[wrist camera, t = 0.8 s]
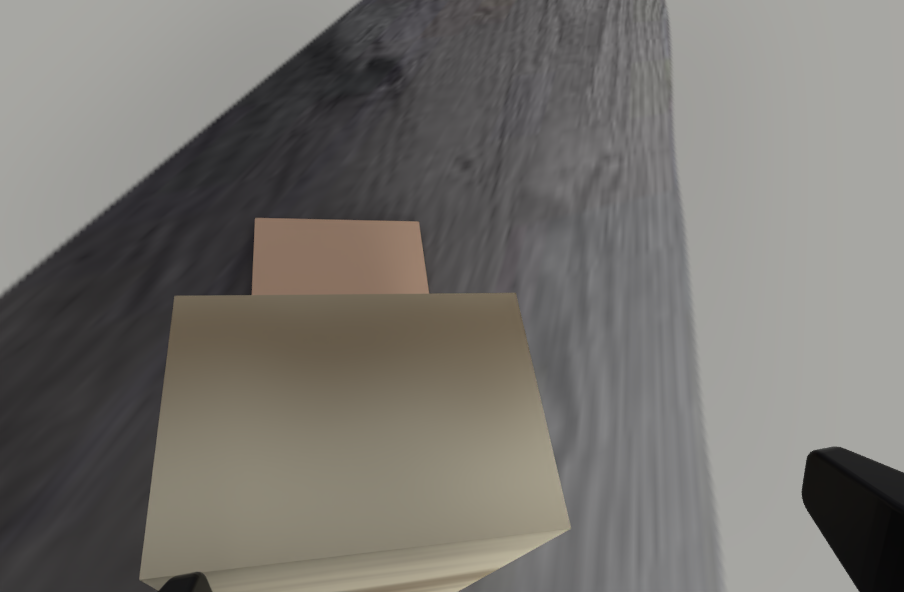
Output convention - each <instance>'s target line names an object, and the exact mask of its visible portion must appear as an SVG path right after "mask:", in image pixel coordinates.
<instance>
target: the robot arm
mask: <svg viewBox="0 0 904 592" xmlns="http://www.w3.org/2000/svg"><path fill="white" fill-rule="evenodd" d="M802 499H803V502H804V505H805V507H806V509H807V511H808V512H809V514H810V516H811V517H812V519H813V520H814V522H815V523H816V525H817V526H818V528H819V529H820V531H821V533H822V534H823V536H824V537H825V539H826V541H827V542H828V544H829V545H830V547H831V548H832V550H833V551H834V553H835V555H836V556H837V558H838V559H839V561H840V562H841V564H842V566H843V567H844V569H845V570H846V572H847V573H848V575H849V576H850V578H851V579H852V581H853V583H854V584H855V586H856V587H857V589H858V590H859V592H904V473H903V472H901V471H898V470H896V469H893V468H891V467H888V466H886V465H884V464H881V463H878V462H876V461H874V460H871V459H869V458H866V457H864V456H861V455H859V454H857V453H854V452H852V451H849V450H847V449H844V448H841V447H829V448H824V449H819V450H814V451H812V452H810V454H809V455H808V456H807V460H806V466H805V473H804V479H803V486H802ZM158 592H212V589H211V587H210V585H209V582H208V580H207V578H206V576H205V575H204V574H203V573H202V572H192V573H187V574H182V575H177V576H174V577H172V578H170V579H169V580H168V581H167V582H166V583H165V584H164V585H163V586H162V587H161V589H160V590H159V591H158Z"/></svg>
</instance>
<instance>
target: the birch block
mask: <svg viewBox="0 0 904 592" xmlns="http://www.w3.org/2000/svg"><path fill="white" fill-rule="evenodd" d="M569 529H571V526H570V522H569V517H568V513H567V509H566V505H565V500H564V496H563V492H562V488H561V483H560V479H559V475H558V471H557V466H556V462H555V458H554V454H553V449H552V445H551V441H550V437H549V432H548V428H547V424H546V420H545V415H544V411H543V407H542V403H541V398H540V394H539V390H538V386H537V381H536V377H535V373H534V369H533V364H532V360H531V356H530V351H529V347H528V343H527V339H526V334H525V330H524V326H523V322H522V317H521V313H520V309H519V305H518V300H517V296H516V293H448V294H329V295H210V296H175V297H174V305H173V313H172V321H171V329H170V337H169V345H168V353H167V361H166V369H165V377H164V385H163V393H162V401H161V409H160V417H159V425H158V433H157V441H156V449H155V457H154V465H153V473H152V481H151V489H150V497H149V505H148V513H147V521H146V529H145V537H144V545H143V553H142V561H141V569H140V577H139V580H140V581H142V582H144V583H146V584H147V585H149V586H151V587H153V588H154V589H156V590H158V591H159V590H160V589H161V587H162V586H163V585H164V584H165V583H166V582H167V581H168V580H169V579H170V578H172V577H174V576H177V575H182V574H187V573H192V572H202V573H203V574H204V575H205V576H206V578H207V580H208V582H209V585H210V587H211V589H212V592H458V591H460V590H461V589H463V588H465V587H467V586H469V585H470V584H472V583H474V582H476V581H477V580H479V579H481V578H483V577H485V576H486V575H488V574H490V573H492V572H494V571H495V570H497V569H499V568H501V567H503V566H504V565H506V564H508V563H510V562H512V561H513V560H515V559H517V558H519V557H521V556H522V555H524V554H526V553H528V552H530V551H531V550H533V549H535V548H537V547H539V546H540V545H542V544H544V543H546V542H548V541H549V540H551V539H553V538H555V537H557V536H558V535H560V534H562V533H564V532H566V531H567V530H569Z"/></svg>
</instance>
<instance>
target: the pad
mask: <svg viewBox="0 0 904 592" xmlns="http://www.w3.org/2000/svg"><path fill="white" fill-rule="evenodd" d="M329 294H429V289H428V282H427V275H426V268H425V261H424V254H423V247H422V240H421V233H420V226H419V222H416V221H372V220H328V219H283V218H255V231H254V254H253V277H252V295H329Z"/></svg>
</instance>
